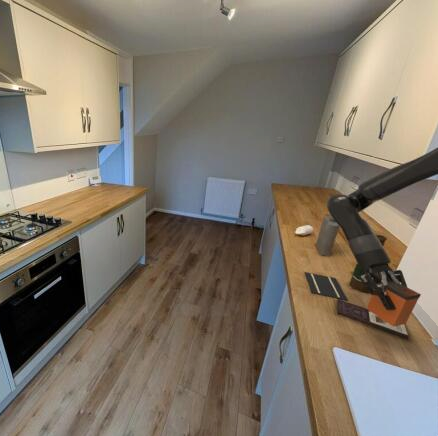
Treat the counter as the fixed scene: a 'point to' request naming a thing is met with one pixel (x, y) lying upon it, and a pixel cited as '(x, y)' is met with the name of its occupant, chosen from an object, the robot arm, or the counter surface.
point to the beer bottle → (362, 272)
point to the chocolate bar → (368, 318)
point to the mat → (325, 286)
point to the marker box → (400, 298)
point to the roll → (304, 230)
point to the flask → (327, 236)
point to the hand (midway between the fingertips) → (398, 308)
